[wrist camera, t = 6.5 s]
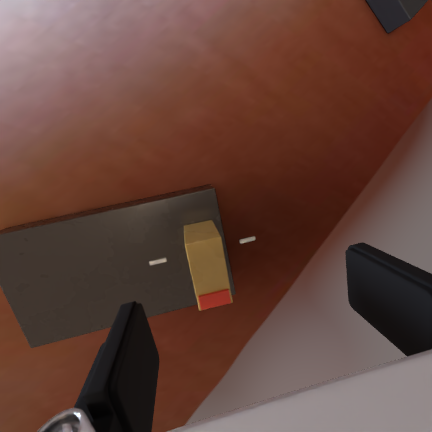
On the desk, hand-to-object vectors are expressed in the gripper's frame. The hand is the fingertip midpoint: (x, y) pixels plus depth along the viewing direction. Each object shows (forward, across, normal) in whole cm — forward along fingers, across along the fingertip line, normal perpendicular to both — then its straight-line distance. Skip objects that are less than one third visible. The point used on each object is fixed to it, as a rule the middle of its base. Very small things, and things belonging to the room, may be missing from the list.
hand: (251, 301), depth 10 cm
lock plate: (+13, +7, +1) cm, 15 cm away
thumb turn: (+10, +2, +1) cm, 10 cm away
